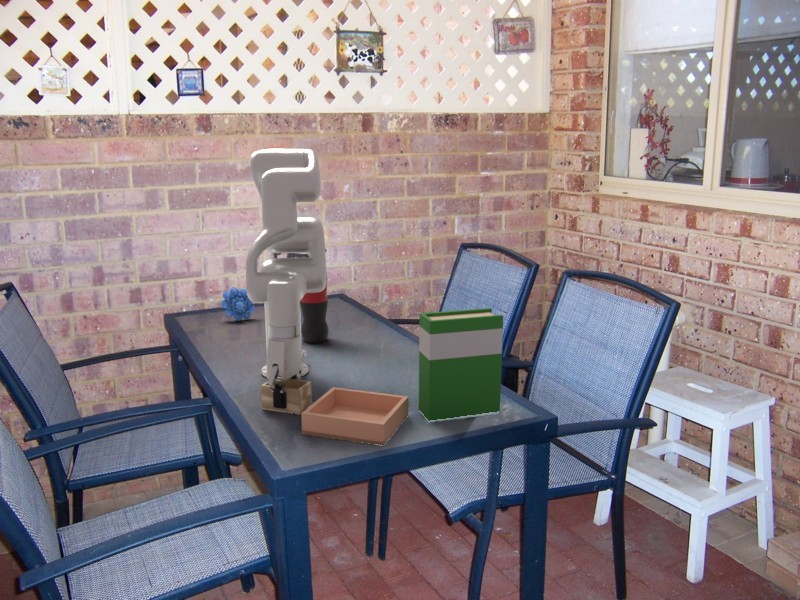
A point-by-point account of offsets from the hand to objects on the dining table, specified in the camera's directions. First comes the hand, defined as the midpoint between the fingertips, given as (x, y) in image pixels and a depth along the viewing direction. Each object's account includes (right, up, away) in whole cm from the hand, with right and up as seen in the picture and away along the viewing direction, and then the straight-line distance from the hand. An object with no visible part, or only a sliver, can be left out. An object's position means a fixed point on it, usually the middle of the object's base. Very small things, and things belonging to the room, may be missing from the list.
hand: (287, 401), depth 177 cm
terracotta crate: (+17, -4, -10) cm, 21 cm away
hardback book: (+41, -2, -3) cm, 41 cm away
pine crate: (0, -1, 0) cm, 1 cm away
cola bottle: (+1, +12, +54) cm, 55 cm away
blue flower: (-28, +17, +75) cm, 82 cm away
